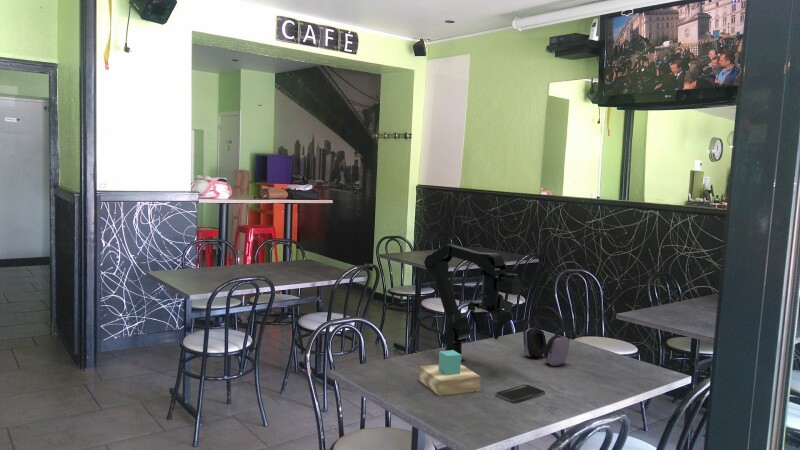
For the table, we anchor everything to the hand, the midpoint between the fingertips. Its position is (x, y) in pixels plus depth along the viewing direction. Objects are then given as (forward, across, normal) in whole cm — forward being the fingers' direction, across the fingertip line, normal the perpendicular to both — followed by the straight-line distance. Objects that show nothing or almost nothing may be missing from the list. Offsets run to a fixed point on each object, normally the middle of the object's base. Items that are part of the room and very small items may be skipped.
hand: (488, 335), depth 197 cm
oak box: (+12, -9, +20) cm, 25 cm away
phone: (+13, -23, +3) cm, 26 cm away
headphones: (+12, +2, -27) cm, 30 cm away
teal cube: (+8, -9, +20) cm, 24 cm away
